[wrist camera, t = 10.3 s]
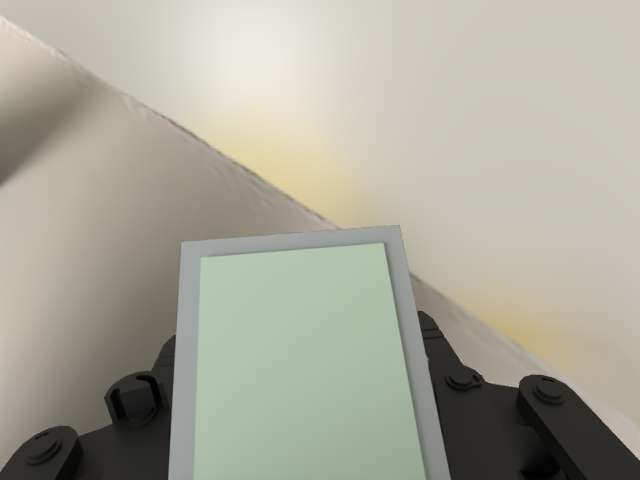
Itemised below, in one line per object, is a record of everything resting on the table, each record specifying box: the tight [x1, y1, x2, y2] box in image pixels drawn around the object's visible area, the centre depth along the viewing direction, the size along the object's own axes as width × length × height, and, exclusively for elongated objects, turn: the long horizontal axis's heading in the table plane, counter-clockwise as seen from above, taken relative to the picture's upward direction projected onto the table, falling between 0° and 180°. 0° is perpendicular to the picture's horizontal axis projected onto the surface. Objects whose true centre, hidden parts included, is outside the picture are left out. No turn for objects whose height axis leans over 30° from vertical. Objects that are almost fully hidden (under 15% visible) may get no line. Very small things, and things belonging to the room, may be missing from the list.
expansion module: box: [168, 225, 451, 480], centre depth 12 cm, size 5×6×11 cm
